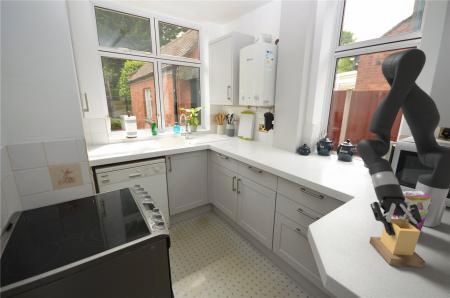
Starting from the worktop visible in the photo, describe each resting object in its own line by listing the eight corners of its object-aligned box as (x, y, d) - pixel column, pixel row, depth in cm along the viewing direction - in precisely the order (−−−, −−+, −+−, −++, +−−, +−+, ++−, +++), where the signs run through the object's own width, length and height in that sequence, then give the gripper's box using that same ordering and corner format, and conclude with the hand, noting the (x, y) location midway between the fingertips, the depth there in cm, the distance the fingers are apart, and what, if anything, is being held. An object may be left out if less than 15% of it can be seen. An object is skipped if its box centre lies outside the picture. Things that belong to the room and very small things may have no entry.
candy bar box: (393, 234, 76) (404, 196, 72) (383, 226, 81) (392, 190, 77) (421, 234, 77) (433, 196, 73) (409, 226, 81) (420, 190, 77)
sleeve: (398, 241, 68) (404, 219, 66) (412, 255, 62) (420, 231, 60) (380, 240, 69) (386, 218, 66) (392, 254, 63) (399, 230, 60)
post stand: (398, 244, 71) (404, 221, 68) (423, 267, 61) (431, 241, 59) (369, 242, 71) (374, 219, 69) (389, 264, 62) (396, 239, 59)
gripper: (371, 181, 68) (388, 232, 60) (415, 184, 67) (438, 236, 59) (360, 188, 75) (373, 236, 66) (399, 191, 74) (418, 239, 65)
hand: (404, 236), depth 63 cm, fingers open, 6 cm apart
